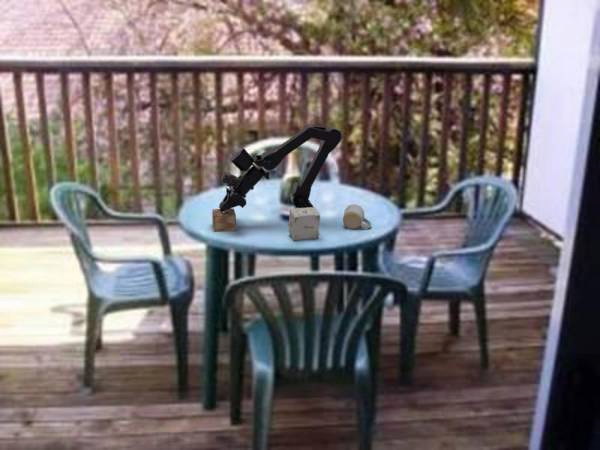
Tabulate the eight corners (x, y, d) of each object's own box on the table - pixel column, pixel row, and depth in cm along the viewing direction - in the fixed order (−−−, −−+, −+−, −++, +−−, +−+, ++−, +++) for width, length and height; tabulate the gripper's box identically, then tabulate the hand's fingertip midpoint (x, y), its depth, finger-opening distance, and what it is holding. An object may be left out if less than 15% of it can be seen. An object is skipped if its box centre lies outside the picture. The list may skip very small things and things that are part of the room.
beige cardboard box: (293, 242, 265) (294, 214, 261) (287, 234, 272) (288, 207, 269) (320, 240, 267) (321, 212, 264) (313, 232, 275) (314, 205, 272)
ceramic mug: (341, 229, 279) (343, 209, 277) (343, 222, 287) (345, 203, 284) (370, 231, 278) (371, 211, 275) (371, 224, 285) (373, 205, 283)
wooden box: (233, 223, 283) (233, 208, 281) (236, 230, 275) (235, 215, 273) (212, 224, 281) (212, 209, 279) (214, 231, 274) (213, 215, 272)
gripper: (231, 158, 280) (202, 188, 282) (236, 171, 263) (205, 202, 264) (252, 178, 284) (223, 207, 286) (259, 192, 267) (228, 222, 268)
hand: (220, 209), depth 276 cm, fingers closed on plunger, 3 cm apart
